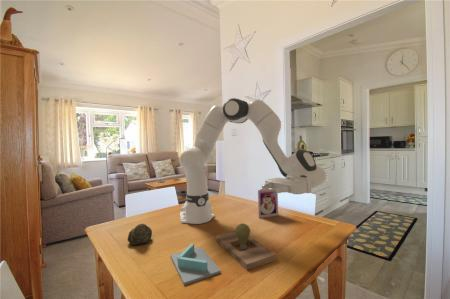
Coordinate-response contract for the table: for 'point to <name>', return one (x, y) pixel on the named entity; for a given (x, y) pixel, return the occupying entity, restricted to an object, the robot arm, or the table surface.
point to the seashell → (140, 234)
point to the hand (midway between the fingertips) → (269, 189)
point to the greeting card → (267, 202)
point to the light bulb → (243, 235)
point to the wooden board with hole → (246, 251)
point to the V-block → (194, 264)
